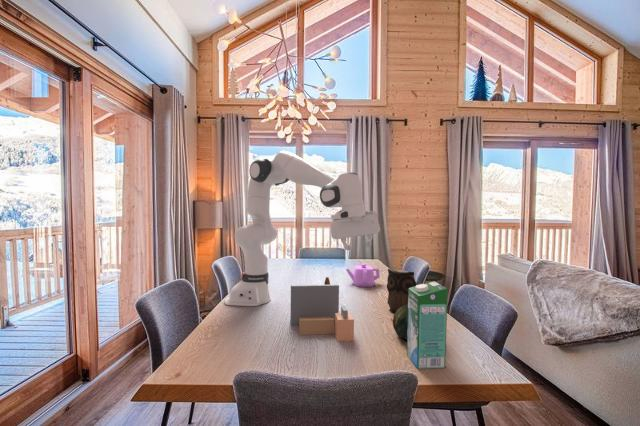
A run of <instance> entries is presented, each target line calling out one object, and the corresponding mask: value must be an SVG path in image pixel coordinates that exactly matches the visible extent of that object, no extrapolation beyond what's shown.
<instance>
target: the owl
mask: <svg viewBox="0 0 640 426" xmlns="http://www.w3.org/2000/svg"><path fill="white" fill-rule="evenodd" d="M387 271H388V272H387V273H388V275H387V284H386V289H387V291H388V295H387V305H388V306H389V310H388V312H389V313H391V314H394V315H395V313H396V311H397V310H398V309H399V308H401V307H402V306H405V305H408V290H409V288H411V287H415V286H416V285H418V284H417V282H416V281H417V280H416V278H415V272H414V271H408V270H401V269H391V268H388V269H387Z"/></svg>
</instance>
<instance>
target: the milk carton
mask: <svg viewBox="0 0 640 426" xmlns="http://www.w3.org/2000/svg"><path fill="white" fill-rule="evenodd" d="M448 292H449V291H448V288H447V287H445V286H443V285H442V284H440V283H439V282H436V281H435V280H434V281H430V282H426V283H418V284H417V285H416V286H415V287H411V288H409V290H408V333H407V339H406V340H407V343H406V346H407V347H406V356H407V357H408V358H409V359H410V361H411V362H412V364H413V365H414V366H415V368H416V369H418V370H421V369H422V370H423V369H424V370H425V369H427V370H428V369H446V359H447V358H446V357H447V354H446V353H447V321H448V319H447V318H448Z"/></svg>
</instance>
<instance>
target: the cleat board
mask: <svg viewBox="0 0 640 426" xmlns="http://www.w3.org/2000/svg"><path fill="white" fill-rule="evenodd" d="M339 302H340V285H339V284H330V285H324V284H291V285H290V316H289V317H290V319H289V320H290V325H298V328H299V335H303V336H304V335H330V334H332V335H333V334H334V335H335V313H340V311H339V308H340V303H339Z"/></svg>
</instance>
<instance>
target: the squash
mask: <svg viewBox="0 0 640 426" xmlns="http://www.w3.org/2000/svg"><path fill="white" fill-rule="evenodd" d="M392 326H393V327H392V328H393V329H394V331H395V334H396V335H397V336H398V337H399V338H401V339H403V340H404V339H405V340H407V333H408V305H405V306H402V307H401V308H399V309H398V310H397V311H396V313H395V314H394V315H393V317H392Z"/></svg>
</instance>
